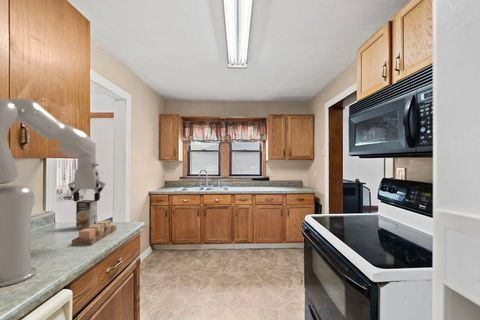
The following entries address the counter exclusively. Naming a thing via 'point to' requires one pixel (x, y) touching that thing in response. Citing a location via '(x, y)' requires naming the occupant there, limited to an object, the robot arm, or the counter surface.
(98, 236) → the walnut tray
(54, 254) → the counter surface
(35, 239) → the counter surface
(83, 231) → the brick cube
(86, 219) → the coffee box
